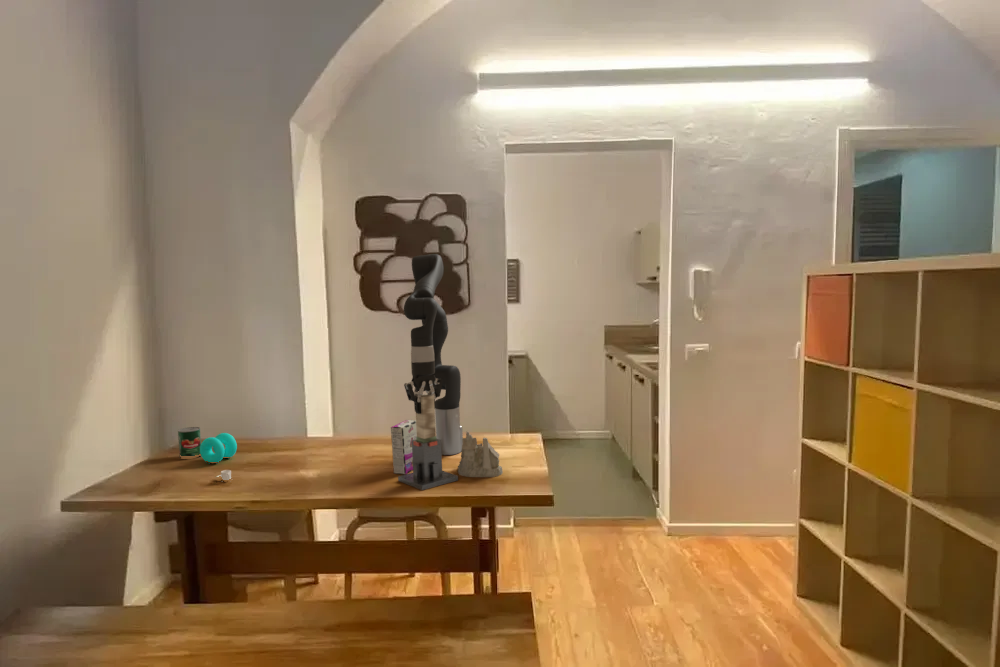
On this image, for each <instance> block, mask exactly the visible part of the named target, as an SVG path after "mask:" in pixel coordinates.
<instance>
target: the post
mask: <svg viewBox="0 0 1000 667" xmlns="http://www.w3.org/2000/svg"><path fill="white" fill-rule="evenodd" d="M420 402H421V414H417V413H416V412H415V420H416V431H417V437H416V440H417V441H420V442H423V443H426V442H430V441H435V440H436V419H435V409H434V396H433V395H428V394H427V393H426V394H424V393H423V395H422V396H421V400H420Z"/></svg>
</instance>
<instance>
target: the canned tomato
mask: <svg viewBox="0 0 1000 667" xmlns="http://www.w3.org/2000/svg"><path fill="white" fill-rule="evenodd" d="M177 436H178V437H177V438H178V451H179V456H180V455H181V456H195V455H199V454H200V446H201V443H202V438H201V437H202V436H201V427H200V426H189V427H184V428H180V429H178V430H177Z"/></svg>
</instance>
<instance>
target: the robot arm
mask: <svg viewBox="0 0 1000 667" xmlns="http://www.w3.org/2000/svg"><path fill="white" fill-rule="evenodd" d="M411 270H412V275H413V280H414V283H415V284H414V288H413V292H412V293H410V295H409V296H408V297H407V298H406V300H405V302H404V304H403V314H404V316H405V318H407V319H409V320H411V321H421V324H422V325H421V326H417V327H414V328H412V329H411V330H410V346H411V349H410V364H411V376H412V378H411V381H410V382H405V383H404V384H403V387H404V390H405V393H406V395H407V399H408V401H409V402H410V401H411V402H413V403H414V405H413V406H414V412H415V414H416V413H417V414H421V402H420V400H421V396H422V395H424V392H425V393H426V394H428V395H433V396H434V409H435V433H436V439H440V440H441V453H442V456H443V455H444V456H451V455H457V454H460V453H461V452H462V444H463V440H462V438H464V436H463V435H464V433H463V426H462V425H461V416H460V413H461V412H460V401H461V382H462V380H461V379H462V378H461V372H460V368H458V366H456V365H452V364H451V365H449V364H443V363H442V354H441V353H442V348H443V346H444V344H445V341H446V339H447V337H448V333H449V326H448V324H449V323H448V318H447V313H446V311H445V310H444V309H443V307H442V306H441V305H440V304H439V302H438V301H437V300H435V292H436V289H437V287H438V285H439V283H440V282H441V280H442V278H443V277H444V262H443V258H442V256H441V255H439V254H437V253H430V254H424V255H423V254H421V255H416V256H413V257H412V259H411ZM413 389H414V390H413ZM442 390H443V391H444V390H445V393H444V394H445V395H444V396H443V397H441V393H442Z"/></svg>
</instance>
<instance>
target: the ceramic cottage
mask: <svg viewBox="0 0 1000 667" xmlns="http://www.w3.org/2000/svg"><path fill="white" fill-rule="evenodd" d="M465 434H466V436H465V438H464V437H463V438H462V440H463V444H462V451H461V452H460V453H461V454H460V461H459V464H458V466H457V473H458V475H459V476H461V477H466V478H495V476H496V477H499V475H500V476H501V475H502V474H504V473H503V466H501V465H500V459H499V458H500V453H498V451H497V450H495V448H493V447H492V445H491V443H490V442H489V440H488V438H487V437H483V438H482V443H479V444H478V441H477V439H478V438H477V437H473V436H472V434H470V431H468V430H467V431H466V432H465Z"/></svg>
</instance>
